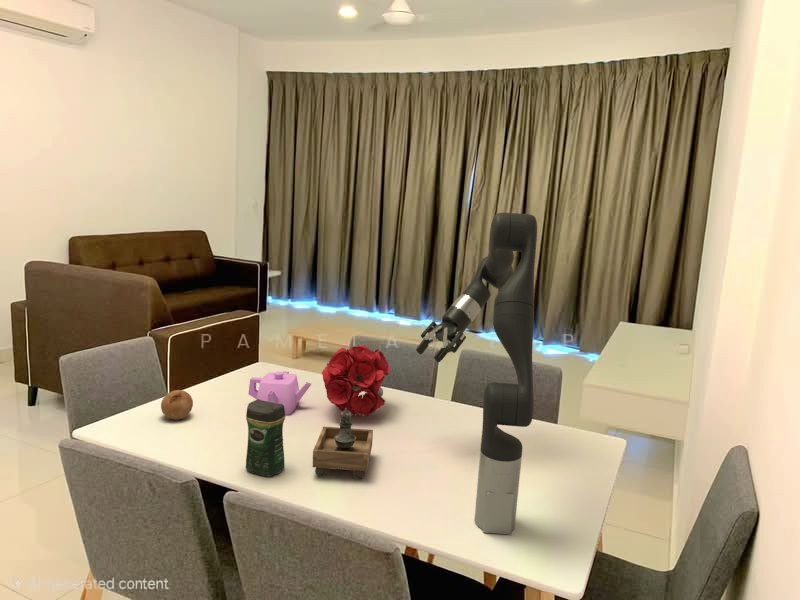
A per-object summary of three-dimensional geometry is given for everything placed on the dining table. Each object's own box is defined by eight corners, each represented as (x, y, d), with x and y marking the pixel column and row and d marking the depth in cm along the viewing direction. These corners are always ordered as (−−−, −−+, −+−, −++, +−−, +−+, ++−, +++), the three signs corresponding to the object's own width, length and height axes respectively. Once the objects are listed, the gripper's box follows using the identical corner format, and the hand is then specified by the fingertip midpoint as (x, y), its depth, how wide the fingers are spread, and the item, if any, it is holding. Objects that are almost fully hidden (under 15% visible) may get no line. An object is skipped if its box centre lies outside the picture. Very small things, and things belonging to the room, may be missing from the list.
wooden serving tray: (366, 482, 150) (367, 454, 149) (312, 478, 150) (313, 450, 149) (371, 454, 166) (373, 429, 164) (322, 451, 166) (323, 426, 165)
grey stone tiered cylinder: (329, 451, 156) (330, 408, 154) (341, 443, 161) (343, 402, 159) (347, 456, 153) (349, 413, 151) (359, 448, 158) (361, 406, 156)
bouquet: (339, 414, 212) (302, 396, 186) (360, 353, 218) (328, 327, 192) (392, 431, 204) (362, 414, 177) (413, 367, 210) (386, 342, 184)
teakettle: (285, 395, 209) (286, 362, 207) (313, 409, 197) (314, 374, 195) (242, 405, 198) (242, 370, 195) (269, 421, 186) (269, 384, 183)
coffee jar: (289, 467, 155) (290, 401, 152) (271, 480, 148) (272, 410, 145) (259, 459, 159) (259, 394, 156) (240, 471, 152) (240, 403, 148)
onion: (180, 431, 182) (179, 409, 176) (154, 419, 183) (153, 396, 178) (199, 411, 189) (199, 389, 183) (175, 400, 191) (174, 378, 185)
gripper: (439, 300, 172) (405, 342, 168) (471, 309, 161) (435, 354, 157) (452, 317, 176) (419, 357, 172) (484, 327, 165) (449, 371, 160)
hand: (427, 356), depth 164 cm, fingers open, 8 cm apart
